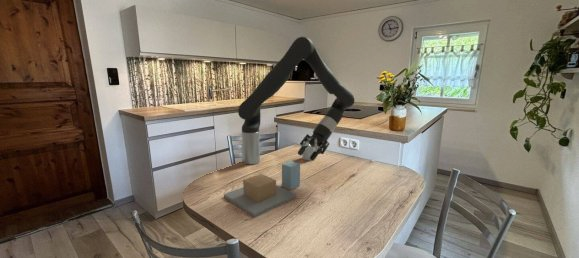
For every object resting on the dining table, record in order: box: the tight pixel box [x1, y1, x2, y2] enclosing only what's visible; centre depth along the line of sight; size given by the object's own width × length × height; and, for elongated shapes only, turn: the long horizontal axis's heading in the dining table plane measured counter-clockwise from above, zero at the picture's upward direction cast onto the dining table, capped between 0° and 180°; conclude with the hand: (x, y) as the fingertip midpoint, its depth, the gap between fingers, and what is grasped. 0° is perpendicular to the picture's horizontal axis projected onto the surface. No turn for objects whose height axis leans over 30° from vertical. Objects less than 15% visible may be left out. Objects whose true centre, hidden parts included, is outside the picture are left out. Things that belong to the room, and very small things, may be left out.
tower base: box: [223, 173, 297, 218], centre depth 98 cm, size 20×20×7 cm
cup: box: [301, 141, 315, 161], centre depth 145 cm, size 7×10×9 cm
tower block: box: [281, 160, 301, 191], centre depth 108 cm, size 6×6×10 cm
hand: (304, 157), depth 111 cm, fingers open, 8 cm apart
